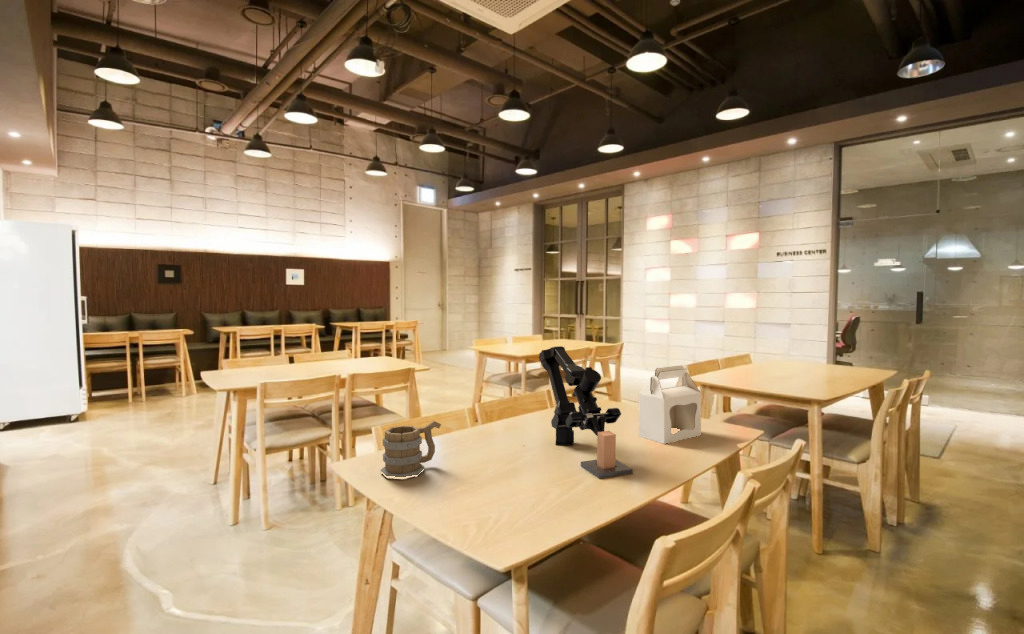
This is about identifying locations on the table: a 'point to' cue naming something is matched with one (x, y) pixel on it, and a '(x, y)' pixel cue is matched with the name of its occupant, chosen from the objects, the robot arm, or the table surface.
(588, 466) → the plate
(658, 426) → the gable box
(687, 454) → the table surface
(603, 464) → the block
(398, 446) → the tankard
